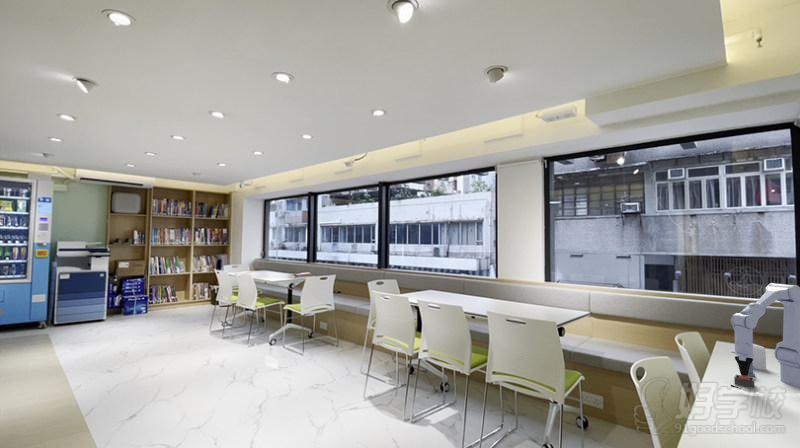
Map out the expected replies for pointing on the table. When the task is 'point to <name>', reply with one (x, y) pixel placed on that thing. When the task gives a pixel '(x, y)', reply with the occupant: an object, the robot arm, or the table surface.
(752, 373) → the pawn
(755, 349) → the photo printer
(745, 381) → the game board
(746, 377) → the dome
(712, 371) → the table surface
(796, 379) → the robot arm
